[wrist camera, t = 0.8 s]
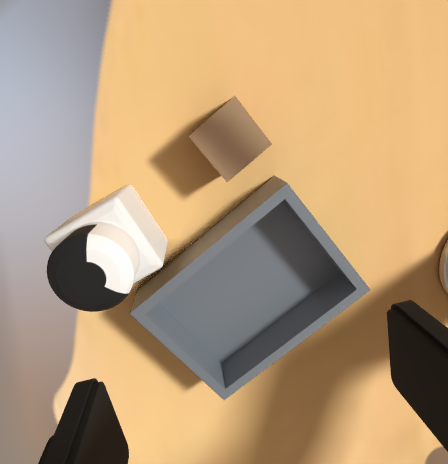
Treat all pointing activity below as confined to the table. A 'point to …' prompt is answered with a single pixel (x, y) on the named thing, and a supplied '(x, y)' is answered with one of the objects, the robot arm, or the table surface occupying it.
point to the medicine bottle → (104, 251)
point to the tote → (248, 290)
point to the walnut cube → (230, 139)
